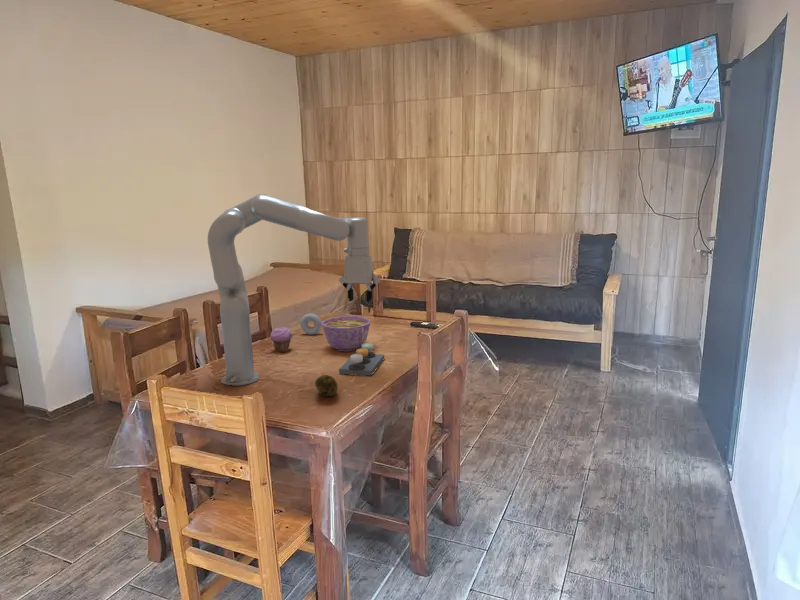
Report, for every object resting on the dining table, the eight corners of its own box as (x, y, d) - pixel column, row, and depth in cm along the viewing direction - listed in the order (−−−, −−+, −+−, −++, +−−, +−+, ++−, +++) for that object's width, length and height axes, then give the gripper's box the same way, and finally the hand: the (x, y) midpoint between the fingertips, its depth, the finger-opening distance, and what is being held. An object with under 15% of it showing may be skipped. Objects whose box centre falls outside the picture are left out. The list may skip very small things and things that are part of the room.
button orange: (366, 357, 208) (366, 352, 208) (354, 356, 209) (354, 351, 209) (369, 353, 212) (369, 348, 212) (358, 353, 213) (358, 348, 213)
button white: (360, 363, 202) (360, 358, 201) (349, 362, 203) (348, 357, 202) (364, 359, 206) (364, 354, 205) (352, 358, 207) (352, 353, 206)
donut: (299, 335, 256) (298, 314, 254) (301, 333, 259) (300, 312, 257) (321, 335, 255) (320, 314, 253) (323, 333, 258) (322, 312, 256)
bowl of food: (377, 352, 229) (377, 324, 227) (330, 358, 222) (328, 330, 220) (362, 339, 247) (361, 314, 245) (318, 345, 240) (316, 319, 238)
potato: (344, 389, 190) (343, 366, 188) (335, 404, 177) (333, 380, 175) (320, 388, 191) (319, 366, 189) (309, 403, 178) (308, 379, 177)
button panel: (370, 376, 201) (370, 369, 200) (338, 374, 204) (338, 367, 203) (384, 359, 220) (384, 352, 219) (355, 357, 223) (355, 351, 222)
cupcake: (267, 353, 231) (266, 329, 229) (277, 347, 239) (275, 324, 237) (287, 354, 229) (286, 330, 227) (296, 348, 237) (295, 325, 235)
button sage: (371, 351, 215) (371, 346, 214) (360, 351, 216) (360, 346, 215) (374, 348, 219) (374, 343, 219) (363, 347, 220) (363, 342, 220)
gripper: (332, 253, 201) (334, 302, 205) (378, 253, 197) (380, 303, 201) (339, 250, 208) (341, 298, 212) (384, 250, 204) (385, 299, 208)
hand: (360, 300), depth 206 cm, fingers open, 6 cm apart
